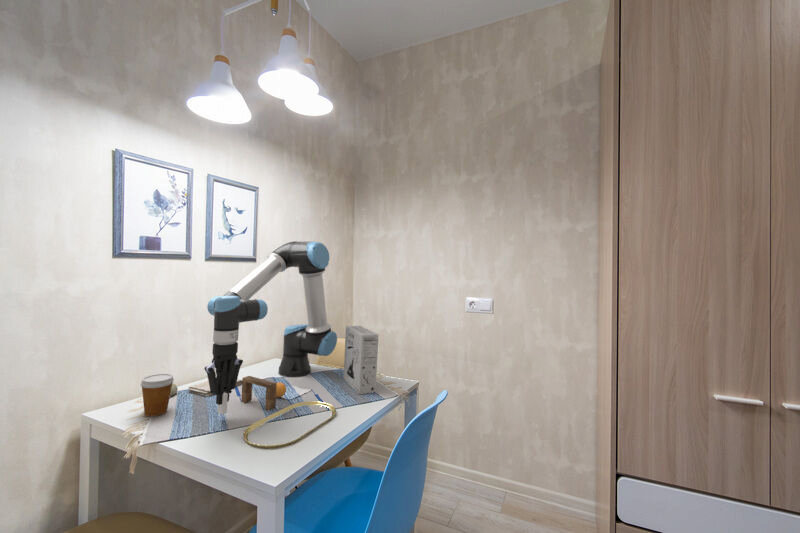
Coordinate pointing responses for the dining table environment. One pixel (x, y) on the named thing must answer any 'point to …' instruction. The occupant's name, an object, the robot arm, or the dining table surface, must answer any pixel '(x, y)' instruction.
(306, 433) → the oval ring
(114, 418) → the dining table surface
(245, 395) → the bridge
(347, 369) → the cereal box
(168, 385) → the disposable coffee cup
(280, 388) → the ball
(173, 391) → the sea urchin shell
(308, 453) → the dining table surface
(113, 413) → the dining table surface
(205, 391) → the washcloth
